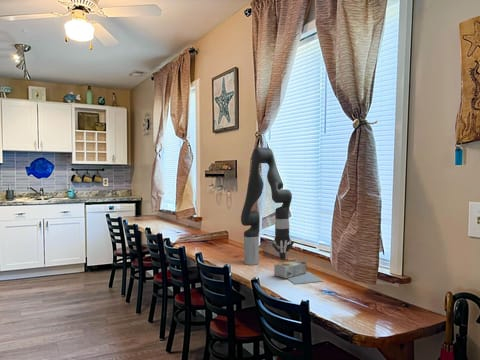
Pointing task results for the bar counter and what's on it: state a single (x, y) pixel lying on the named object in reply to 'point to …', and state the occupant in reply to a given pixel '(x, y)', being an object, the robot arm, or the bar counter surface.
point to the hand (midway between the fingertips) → (282, 259)
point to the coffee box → (290, 268)
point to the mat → (304, 278)
